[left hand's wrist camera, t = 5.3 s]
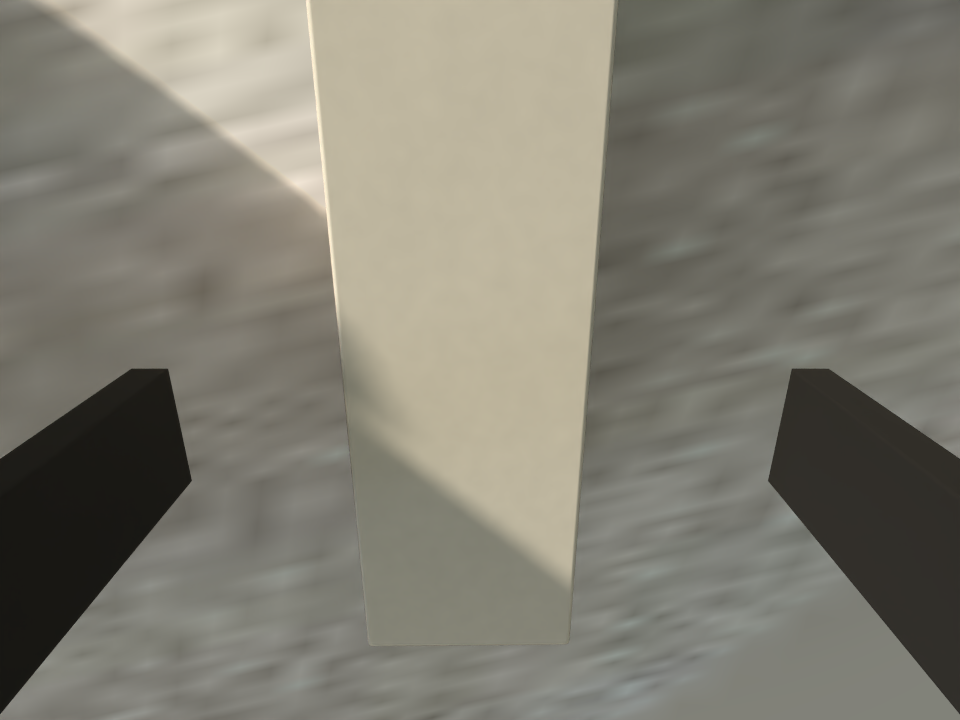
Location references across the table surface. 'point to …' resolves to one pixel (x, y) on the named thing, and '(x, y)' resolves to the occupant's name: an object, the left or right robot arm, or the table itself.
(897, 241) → the table surface
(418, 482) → the bar
